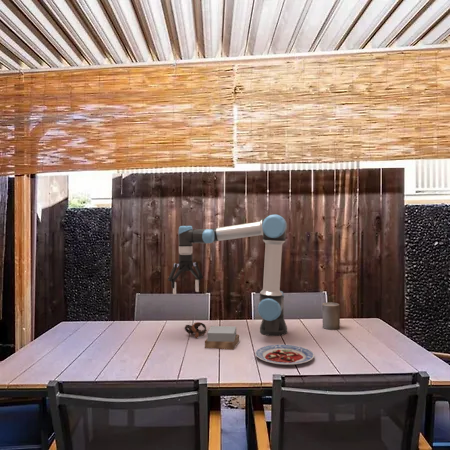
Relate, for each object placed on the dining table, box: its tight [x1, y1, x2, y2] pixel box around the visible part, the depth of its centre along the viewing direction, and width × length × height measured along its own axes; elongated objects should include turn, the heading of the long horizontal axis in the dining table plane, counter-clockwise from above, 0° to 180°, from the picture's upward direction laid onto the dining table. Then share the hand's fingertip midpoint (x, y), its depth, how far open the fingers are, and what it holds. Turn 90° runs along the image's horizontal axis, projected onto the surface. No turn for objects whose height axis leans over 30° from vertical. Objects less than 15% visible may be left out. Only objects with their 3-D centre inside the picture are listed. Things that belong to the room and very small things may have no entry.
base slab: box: [204, 333, 240, 351], centre depth 193 cm, size 14×14×4 cm
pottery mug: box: [184, 321, 208, 339], centre depth 208 cm, size 12×10×8 cm
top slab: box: [206, 325, 237, 342], centre depth 193 cm, size 13×13×4 cm
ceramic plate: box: [254, 344, 315, 366], centre depth 172 cm, size 26×26×3 cm
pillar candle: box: [321, 301, 341, 331], centre depth 221 cm, size 10×10×15 cm
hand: (186, 292), depth 211 cm, fingers open, 13 cm apart
